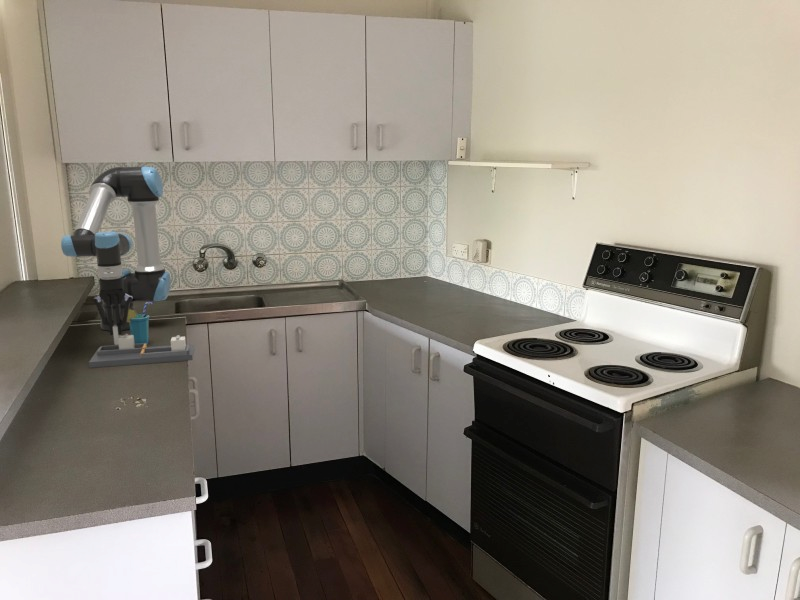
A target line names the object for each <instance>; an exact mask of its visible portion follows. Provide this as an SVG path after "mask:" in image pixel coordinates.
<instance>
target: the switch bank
mask: <svg viewBox="0 0 800 600" xmlns="http://www.w3.org/2000/svg"><path fill="white" fill-rule="evenodd" d="M147 345H148V344H146V343H139V344H135V348H132V349H119V345H114V344H112V345H101V346H98V348H97V350H96V351H95V353H94V354H93V355H92V357H91V359H90V360H89V361H88V367H89V369H92V368H105V367H119V366H133V365H144V364H145V365H146V364H160V363H173V362H186V361H187V362H188V361H193V360H194V354H195V349H196V348H195V343H186V350H181V351H171V344H169V345H158V346H157V345H156V346H147Z"/></svg>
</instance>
